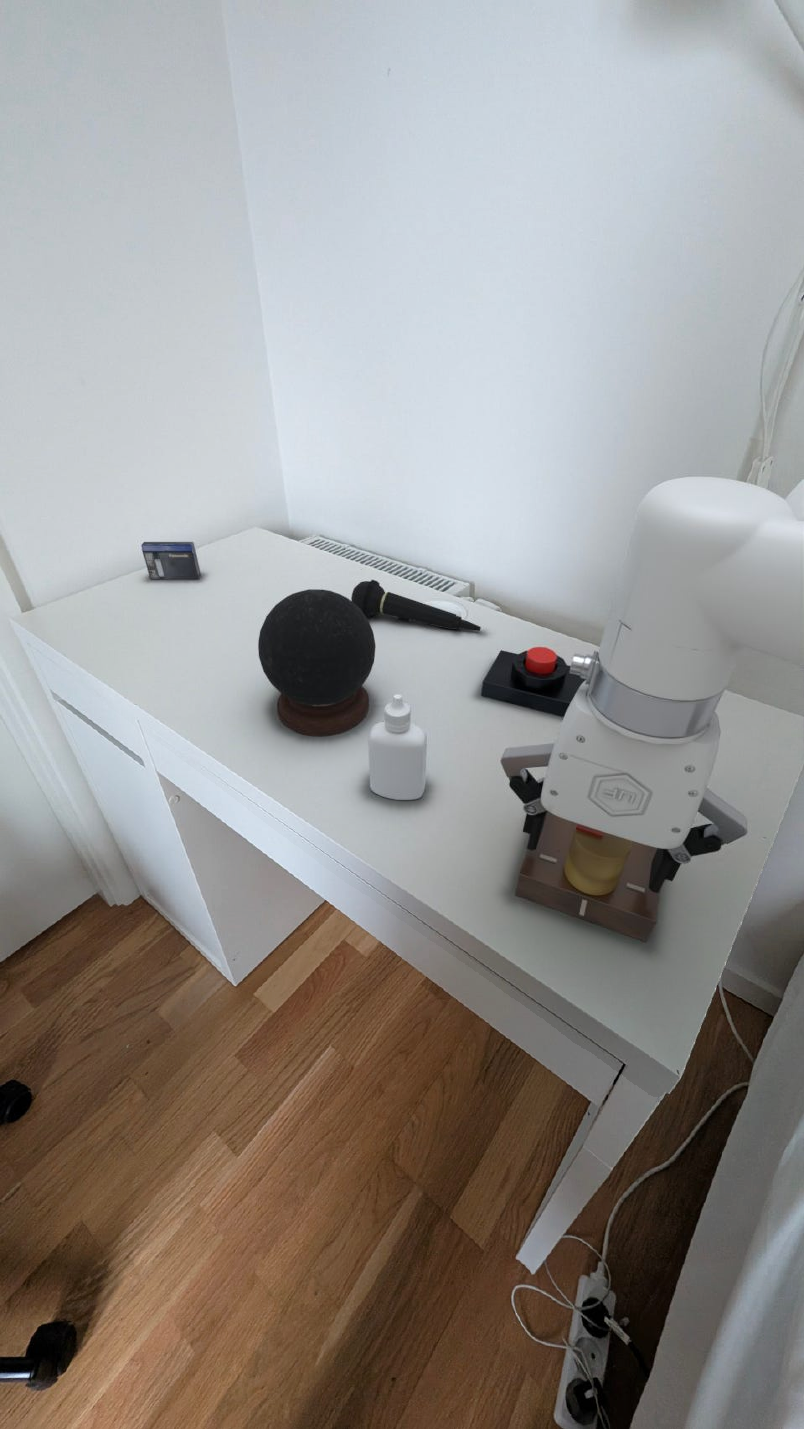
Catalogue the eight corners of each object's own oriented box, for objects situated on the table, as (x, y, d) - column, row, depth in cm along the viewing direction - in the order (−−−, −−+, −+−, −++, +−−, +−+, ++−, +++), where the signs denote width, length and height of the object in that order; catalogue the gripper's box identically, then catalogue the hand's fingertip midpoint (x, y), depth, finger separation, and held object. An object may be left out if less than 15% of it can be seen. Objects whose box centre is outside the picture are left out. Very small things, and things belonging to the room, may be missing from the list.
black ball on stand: (312, 665, 78) (300, 560, 69) (397, 694, 73) (396, 585, 64) (246, 718, 69) (222, 606, 60) (337, 756, 64) (326, 639, 55)
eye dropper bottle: (391, 765, 63) (390, 674, 55) (431, 789, 60) (436, 697, 53) (363, 787, 60) (358, 695, 53) (404, 813, 57) (405, 720, 50)
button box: (588, 684, 75) (595, 658, 72) (576, 720, 69) (583, 693, 67) (498, 663, 79) (502, 638, 76) (480, 695, 73) (483, 669, 70)
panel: (656, 859, 53) (666, 837, 51) (644, 962, 46) (655, 940, 44) (538, 822, 57) (543, 799, 55) (508, 911, 49) (513, 889, 47)
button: (557, 662, 72) (559, 650, 71) (551, 677, 70) (553, 665, 69) (529, 656, 73) (531, 644, 72) (521, 670, 71) (523, 658, 70)
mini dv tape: (150, 579, 98) (140, 545, 94) (153, 575, 99) (143, 541, 96) (198, 579, 98) (190, 545, 95) (201, 575, 99) (193, 541, 96)
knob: (621, 862, 49) (636, 822, 46) (614, 903, 46) (629, 864, 43) (569, 845, 51) (580, 805, 48) (559, 884, 48) (570, 845, 44)
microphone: (477, 643, 88) (355, 609, 91) (487, 606, 86) (362, 573, 89) (472, 651, 83) (343, 615, 86) (483, 613, 81) (350, 577, 84)
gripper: (503, 687, 37) (477, 855, 47) (813, 766, 31) (705, 936, 42) (532, 631, 42) (503, 794, 53) (801, 691, 37) (707, 858, 47)
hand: (592, 857), depth 47 cm, fingers open, 9 cm apart
